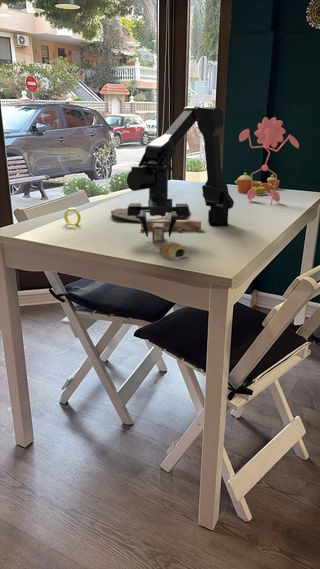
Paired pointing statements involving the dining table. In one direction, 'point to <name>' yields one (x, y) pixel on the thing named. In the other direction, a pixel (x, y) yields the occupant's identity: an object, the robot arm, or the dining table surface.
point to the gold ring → (75, 212)
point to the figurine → (268, 136)
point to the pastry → (173, 251)
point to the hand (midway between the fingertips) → (158, 236)
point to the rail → (176, 224)
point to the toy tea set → (256, 185)
